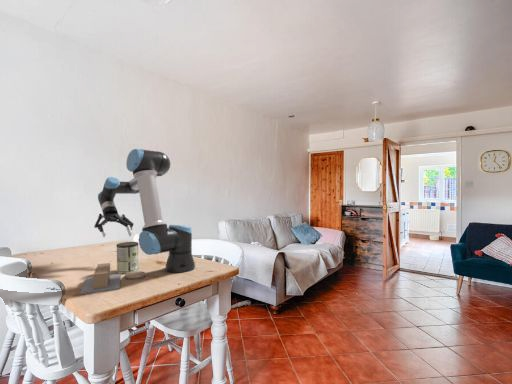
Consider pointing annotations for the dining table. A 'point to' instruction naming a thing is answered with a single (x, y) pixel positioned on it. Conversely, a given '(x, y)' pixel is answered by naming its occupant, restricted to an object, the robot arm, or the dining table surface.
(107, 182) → the robot arm
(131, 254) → the coffee can
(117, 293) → the dining table surface
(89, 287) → the fulcrum board
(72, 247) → the dining table surface
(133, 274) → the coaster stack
